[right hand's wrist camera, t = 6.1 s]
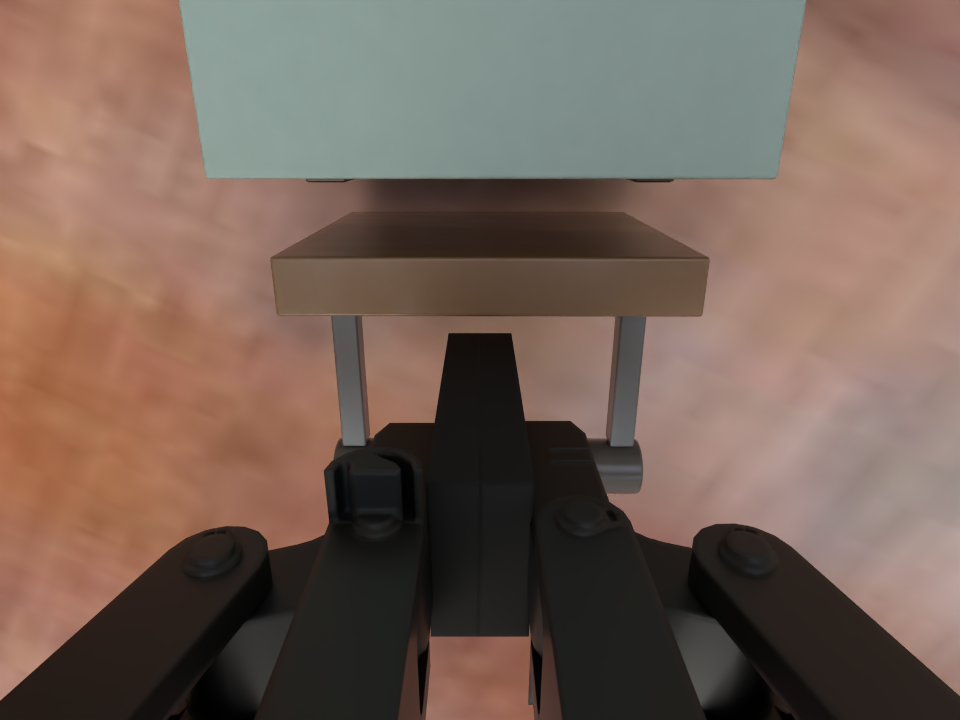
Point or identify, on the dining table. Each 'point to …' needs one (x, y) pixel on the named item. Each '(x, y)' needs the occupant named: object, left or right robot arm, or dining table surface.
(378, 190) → the dining table surface
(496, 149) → the green drawer casing
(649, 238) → the drawer
